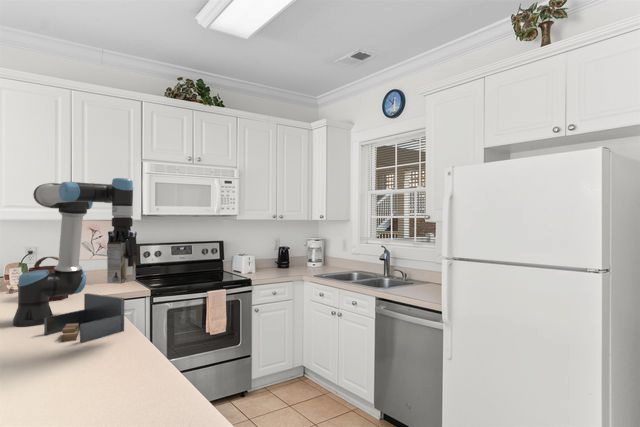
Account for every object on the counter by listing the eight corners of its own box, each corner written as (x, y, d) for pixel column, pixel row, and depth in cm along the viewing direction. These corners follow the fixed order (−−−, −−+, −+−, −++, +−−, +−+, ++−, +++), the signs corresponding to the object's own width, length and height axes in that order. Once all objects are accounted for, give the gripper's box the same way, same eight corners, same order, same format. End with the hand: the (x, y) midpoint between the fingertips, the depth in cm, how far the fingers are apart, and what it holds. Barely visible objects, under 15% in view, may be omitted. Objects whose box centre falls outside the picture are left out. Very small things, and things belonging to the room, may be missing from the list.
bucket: (80, 298, 242) (80, 256, 242) (38, 305, 223) (39, 259, 223) (59, 294, 255) (60, 254, 255) (18, 300, 236) (19, 256, 236)
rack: (44, 334, 168) (44, 300, 168) (87, 324, 185) (87, 293, 185) (82, 342, 158) (82, 306, 158) (124, 330, 175) (124, 298, 175)
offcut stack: (63, 334, 169) (64, 323, 170) (79, 333, 172) (79, 322, 172) (60, 342, 159) (60, 331, 159) (76, 341, 161) (76, 329, 161)
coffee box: (122, 279, 168) (122, 240, 168) (136, 280, 167) (136, 241, 167) (106, 283, 159) (106, 242, 159) (120, 284, 158) (121, 242, 158)
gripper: (96, 216, 164) (96, 273, 164) (132, 216, 155) (131, 277, 155) (113, 216, 171) (112, 271, 171) (148, 217, 162) (147, 274, 162)
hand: (121, 274), depth 163 cm, fingers closed on coffee box, 7 cm apart
